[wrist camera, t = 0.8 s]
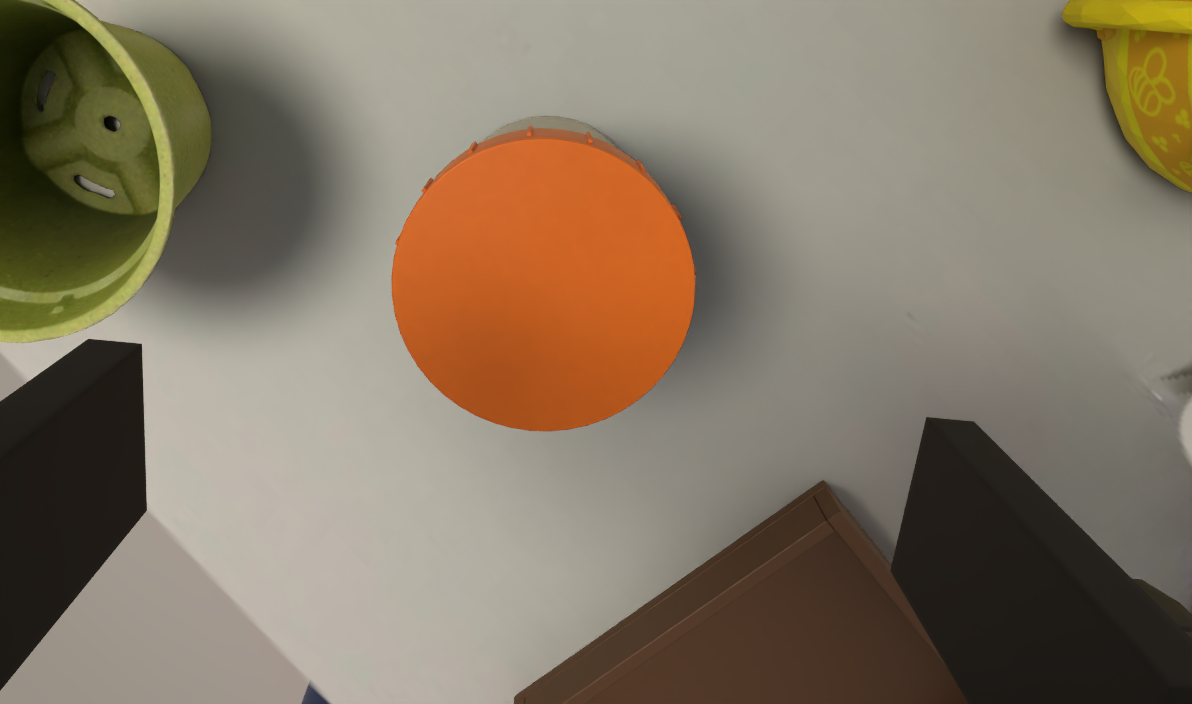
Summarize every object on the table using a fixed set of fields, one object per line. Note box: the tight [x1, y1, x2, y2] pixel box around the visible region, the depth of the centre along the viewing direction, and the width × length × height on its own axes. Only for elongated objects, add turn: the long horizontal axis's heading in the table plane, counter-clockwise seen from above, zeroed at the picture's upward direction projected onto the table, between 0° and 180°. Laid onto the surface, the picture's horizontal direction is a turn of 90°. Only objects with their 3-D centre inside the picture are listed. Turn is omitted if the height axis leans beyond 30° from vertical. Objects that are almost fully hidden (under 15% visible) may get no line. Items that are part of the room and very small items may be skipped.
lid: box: [392, 126, 696, 431], centre depth 26 cm, size 8×8×2 cm
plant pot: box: [0, 0, 212, 343], centre depth 29 cm, size 9×9×9 cm
